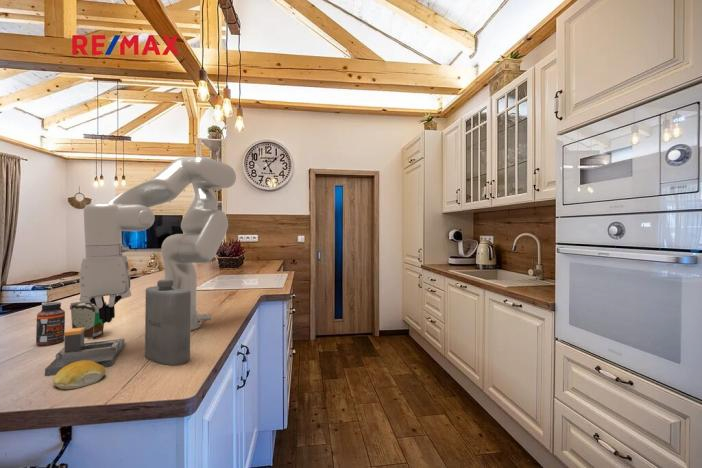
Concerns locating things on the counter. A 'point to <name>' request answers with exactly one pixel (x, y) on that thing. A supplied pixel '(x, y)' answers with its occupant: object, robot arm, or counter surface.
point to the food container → (87, 319)
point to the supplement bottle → (50, 324)
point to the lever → (74, 339)
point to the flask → (167, 324)
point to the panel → (88, 355)
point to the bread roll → (79, 374)
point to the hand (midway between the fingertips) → (107, 321)
